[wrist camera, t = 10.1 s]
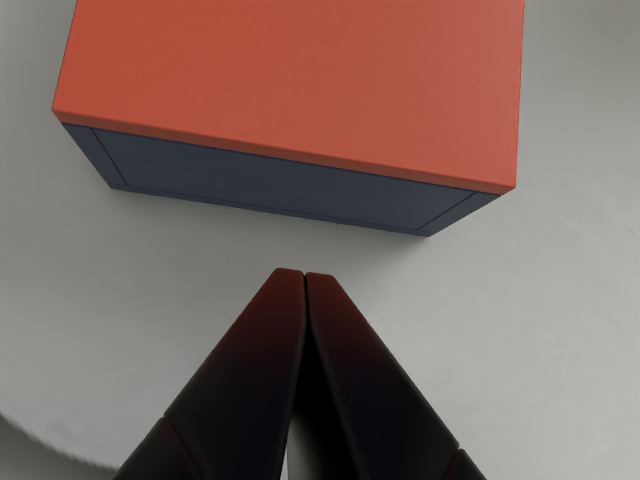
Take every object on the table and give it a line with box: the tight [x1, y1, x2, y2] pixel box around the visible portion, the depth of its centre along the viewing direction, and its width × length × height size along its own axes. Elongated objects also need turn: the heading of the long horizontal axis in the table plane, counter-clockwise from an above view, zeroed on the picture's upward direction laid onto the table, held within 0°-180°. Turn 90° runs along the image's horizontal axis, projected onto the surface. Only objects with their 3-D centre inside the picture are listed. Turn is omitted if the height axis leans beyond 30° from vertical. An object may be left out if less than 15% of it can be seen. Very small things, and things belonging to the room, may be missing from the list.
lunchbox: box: [61, 122, 501, 237], centre depth 20 cm, size 15×13×6 cm
